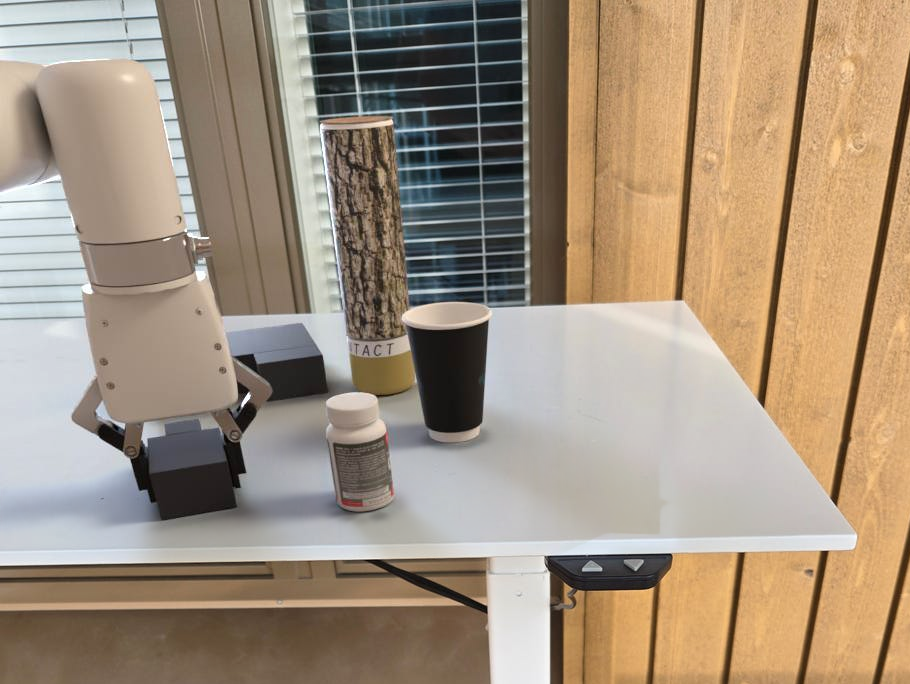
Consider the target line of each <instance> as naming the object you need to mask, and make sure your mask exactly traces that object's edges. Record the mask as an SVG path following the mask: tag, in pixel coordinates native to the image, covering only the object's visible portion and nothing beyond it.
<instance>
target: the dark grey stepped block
mask: <svg viewBox="0 0 910 684" xmlns="http://www.w3.org/2000/svg"><path fill="white" fill-rule="evenodd" d="M163 426H164V434H165V435H161V436H154V437H148V438H147V441H146V442H147V446H148V454H149V476H150V479H151V483H152V486H153V490H154V494H155V497H156V501H157V502H156V505H157V508H158V512H159V516H160V519H161V521H162V520H168V519H173V518H175V519H176V518H179V517H180V518H181V517H186V516H191V515H196V514H203V513H210V512H215V511H219V510H220V511H221V510H225V509H232V508H237V507H238V504H237V498H236V495H235V490H234V487H233V485H232V480H231V476H230V471H229V467H228V462H227V458H226V454H225V450H224V448H223V444H222V440H221V435H222V434H221V433H222V432H221V428H220V427H213V428H207V429H203V428H202V425H201V421H200V419H199V418H194V419H187V420H179V421H174V422H167V423H164V425H163Z"/></svg>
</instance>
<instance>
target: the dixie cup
mask: <svg viewBox="0 0 910 684" xmlns="http://www.w3.org/2000/svg"><path fill="white" fill-rule="evenodd" d="M492 316H493V312H492V309H491V308H490V307H488V306H487V305H483V304H480V303H475V302H467V301H446V302H445V301H444V302H434V303H428V304H422V305H418V306H416V307H412V308H410V310H408V311H406V312H405V313H404V314H403V315H402V321H403V322H404V323H405V324H406V328H407V334H408V339H409V344H410V349H411V354H412V359H413V364H414V370H415V381H416V384H417V391H418V394H419V399H420V405H421V410H422V415H423V420H424V421H423V422H424V424H425V427H426V428H427V430H428V434H429V438H431V439H432V440H434V441H437V442H441V443H448V444H449V443H461V442H462V443H463V442H466V441H471V440H473V439H475V438H476V437H478V436H479V435H480V431H481V424H483V420H484V404H485V403H484V402H485V388H486V373H487V372H486V371H487V370H486V369H487V357H488V356H487V355H488V340H489V339H488V338H489V325H490V324H489V323H490V319H491V318H492Z"/></svg>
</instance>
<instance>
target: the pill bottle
mask: <svg viewBox="0 0 910 684" xmlns="http://www.w3.org/2000/svg"><path fill="white" fill-rule="evenodd" d="M379 407H380V405H379V399H378V397H377V395H372V394H369V393H362V392H360V391H357V392H356V391H355V392H346V393H340V394H336V395H334V396H332V397H330V398H329V399H327V400H326V401H325V411H326V419H327V421H328V423H329V424H328V425H327V427H326V429H325V437H326V438H325V439H326V444H327V449H328V457H329V462H330V469H331V476H332V482H333V487H334V494H335V495H334V496H335V502H336V503H337V505H338V506H339V507H341V508H342V509H344V510H346V511H350V512H356V513H357V512H360V513H361V512H370V511H375V510H379V509H382V508H384V507H386V506H387V505H389V504H390V503H391V502H392V501H393V499H394V497H395V490H394V482H393V472H392V466H391V465H392V464H391V457H390V448H389V440H388V439H389V438H388V430H387V426H386V423H385V422H384V421H383V420H382V419H381V418H380V416H381V414H380V408H379Z"/></svg>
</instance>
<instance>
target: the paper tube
mask: <svg viewBox="0 0 910 684" xmlns="http://www.w3.org/2000/svg"><path fill="white" fill-rule="evenodd" d="M393 118H394V117H393V116H389V115H365V116H362V115H361V116H348V117H338V118H329V119H322V120H319V123H320V125H319V130H320V131H319V132H320V139H321V147H322V153H323V154H322V155H323V161H324V162H323V163H324V169H325V170H324V171H325V178H326V185H327V186H326V187H327V193H328V195H327V196H328V201H329V209H330V219H331V226H332V233H333V234H332V235H333V241H334V242H333V243H334V249H335V257H336V265H337V271H338V280H339V287H340V296H341V303H342V312H343V319H344V327H345V333H346V342H347V343H346V344H347V350H348V355H349V356H348V357H349V365H350V372H351V380H352V385H353V387H354V388H355V389H356V390H357V392H362V393H369V394H372V395H374V396H387V395H388V396H389V395H394V394H398V393H401V392H404V391H407V390H409V389H410V388H412V386H413V385H415V381H416V375H415V370H414V364H413V359H412V354H411V349H410V344H409V339H408V334H407V328H406V324H405V323H404V322H403V321H402V315H403V314H404V313H405V312H406V311H408V310H410V309H411V307H410V306H411V305H410V297H409V285H408V273H407V260H406V251H405V238H404V226H403V214H402V204H401V192H400V180H399V168H398V157H397V156H398V155H397V146H396V145H397V144H396V134H395V125H394V121H393Z"/></svg>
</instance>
